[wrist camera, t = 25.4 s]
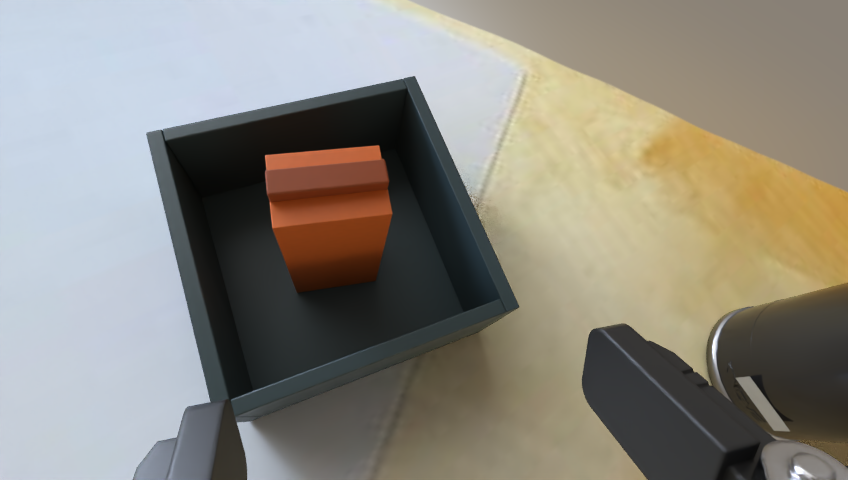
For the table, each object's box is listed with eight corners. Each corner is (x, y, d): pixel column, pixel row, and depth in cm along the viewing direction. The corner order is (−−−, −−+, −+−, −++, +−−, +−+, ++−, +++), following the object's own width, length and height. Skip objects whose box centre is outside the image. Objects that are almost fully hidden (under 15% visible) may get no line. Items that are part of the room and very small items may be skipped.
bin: (400, 143, 36) (414, 75, 29) (479, 331, 32) (519, 307, 24) (190, 196, 32) (145, 132, 24) (248, 421, 27) (215, 424, 20)
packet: (367, 231, 32) (380, 135, 21) (376, 281, 31) (394, 206, 20) (290, 241, 31) (261, 145, 20) (296, 293, 30) (269, 221, 19)
